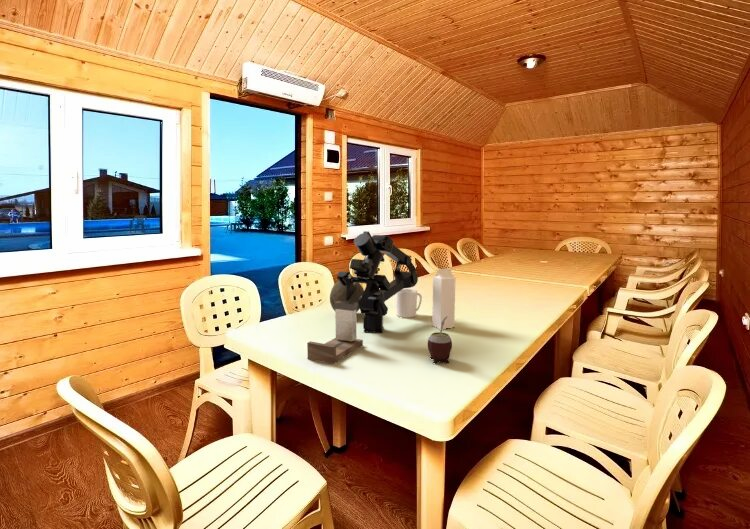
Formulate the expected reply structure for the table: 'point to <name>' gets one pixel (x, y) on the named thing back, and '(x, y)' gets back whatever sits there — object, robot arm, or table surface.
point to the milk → (443, 298)
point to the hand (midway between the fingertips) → (353, 301)
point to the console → (332, 350)
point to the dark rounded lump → (340, 294)
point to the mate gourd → (440, 345)
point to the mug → (407, 303)
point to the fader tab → (345, 320)
